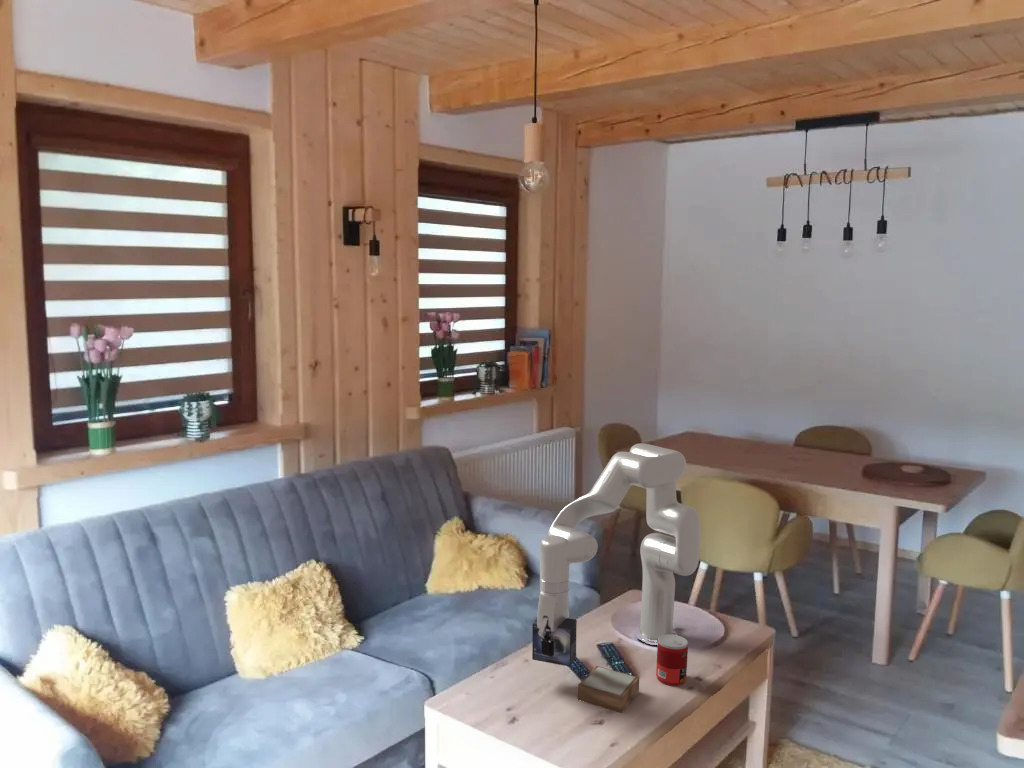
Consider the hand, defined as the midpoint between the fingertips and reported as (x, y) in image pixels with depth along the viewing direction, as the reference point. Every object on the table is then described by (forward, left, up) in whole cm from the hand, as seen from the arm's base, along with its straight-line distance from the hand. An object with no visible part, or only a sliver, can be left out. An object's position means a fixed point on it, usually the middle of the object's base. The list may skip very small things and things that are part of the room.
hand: (554, 648), depth 220 cm
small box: (0, 0, -3) cm, 3 cm away
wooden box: (-2, +15, -10) cm, 18 cm away
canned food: (-19, +26, -10) cm, 34 cm away
